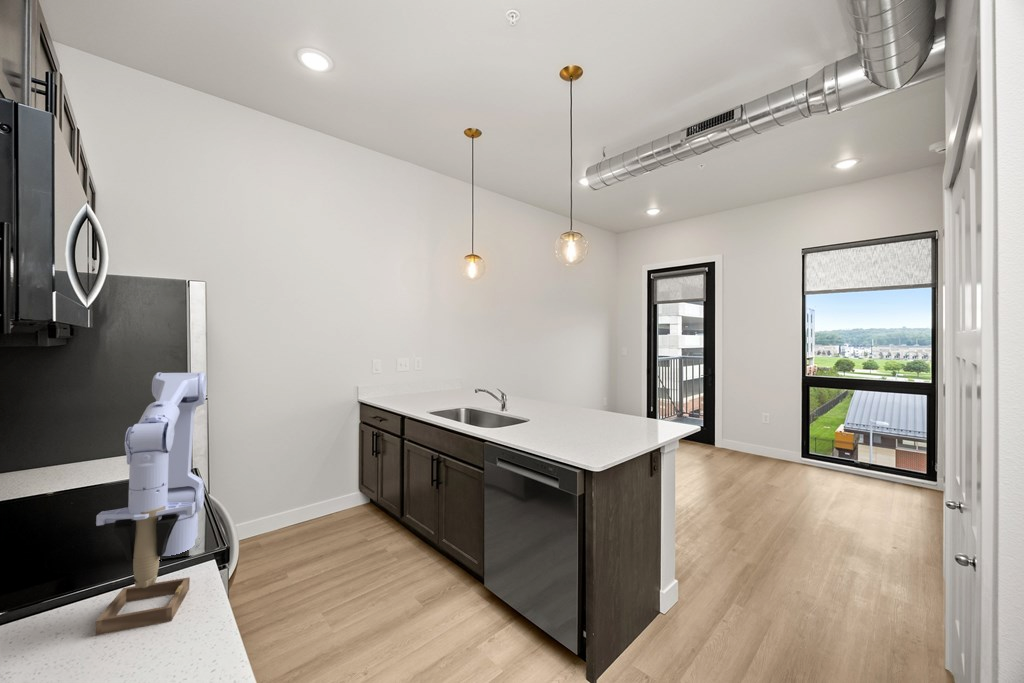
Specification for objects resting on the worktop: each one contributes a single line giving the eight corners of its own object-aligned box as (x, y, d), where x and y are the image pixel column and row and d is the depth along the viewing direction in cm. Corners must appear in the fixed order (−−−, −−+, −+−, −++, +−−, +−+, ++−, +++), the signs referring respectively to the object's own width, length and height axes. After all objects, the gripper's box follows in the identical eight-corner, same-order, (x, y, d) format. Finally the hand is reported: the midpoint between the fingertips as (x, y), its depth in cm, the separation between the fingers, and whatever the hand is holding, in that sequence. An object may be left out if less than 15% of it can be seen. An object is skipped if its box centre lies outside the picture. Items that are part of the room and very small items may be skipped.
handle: (138, 595, 77) (140, 514, 77) (121, 586, 80) (123, 507, 80) (169, 582, 82) (171, 505, 82) (152, 574, 85) (154, 499, 85)
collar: (122, 600, 84) (123, 585, 84) (189, 589, 88) (189, 574, 88) (95, 635, 74) (95, 617, 74) (171, 620, 78) (172, 604, 78)
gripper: (88, 497, 75) (86, 574, 74) (188, 487, 80) (186, 559, 80) (107, 484, 81) (105, 555, 81) (199, 476, 87) (197, 542, 87)
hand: (146, 556), depth 81 cm, fingers closed on handle, 4 cm apart
